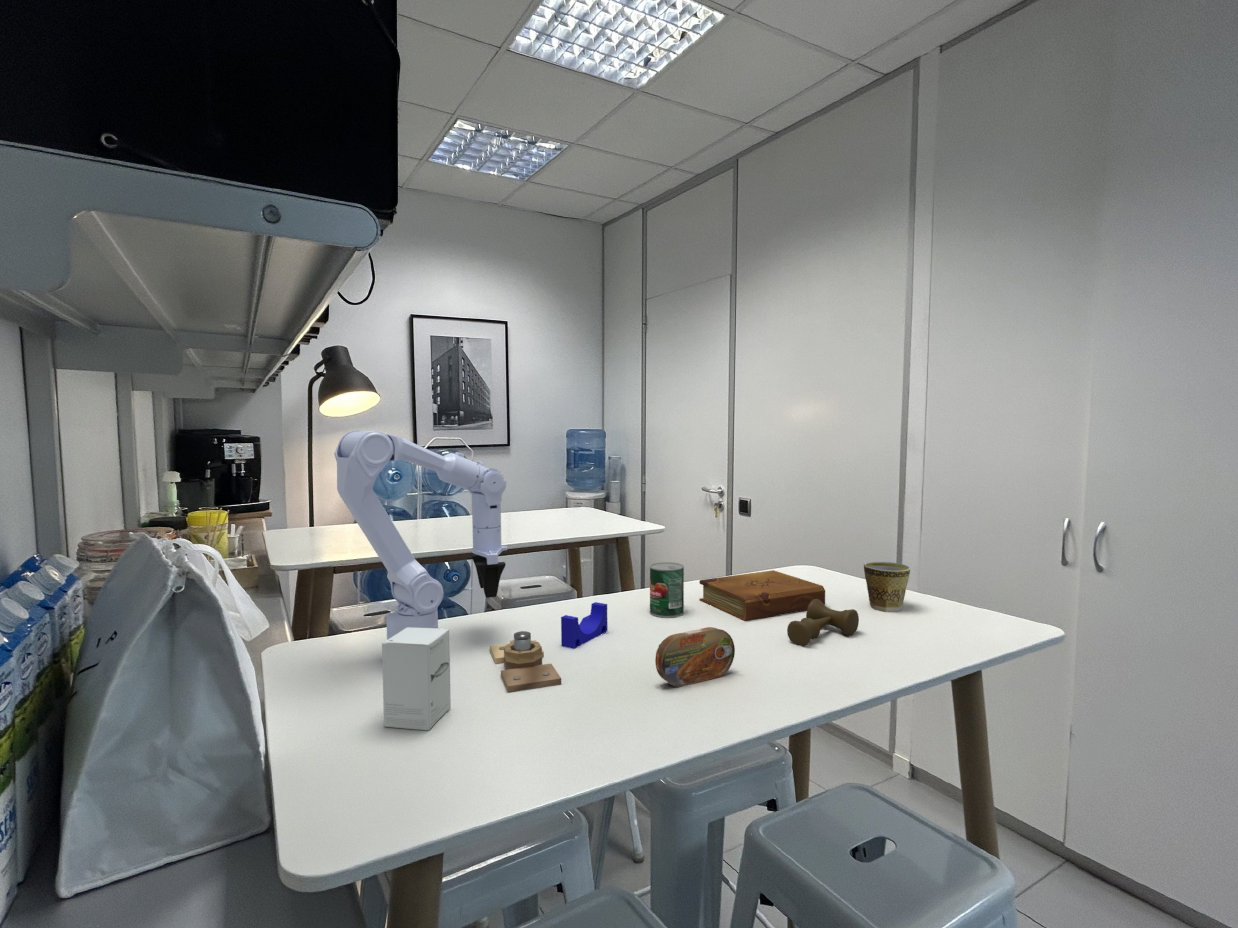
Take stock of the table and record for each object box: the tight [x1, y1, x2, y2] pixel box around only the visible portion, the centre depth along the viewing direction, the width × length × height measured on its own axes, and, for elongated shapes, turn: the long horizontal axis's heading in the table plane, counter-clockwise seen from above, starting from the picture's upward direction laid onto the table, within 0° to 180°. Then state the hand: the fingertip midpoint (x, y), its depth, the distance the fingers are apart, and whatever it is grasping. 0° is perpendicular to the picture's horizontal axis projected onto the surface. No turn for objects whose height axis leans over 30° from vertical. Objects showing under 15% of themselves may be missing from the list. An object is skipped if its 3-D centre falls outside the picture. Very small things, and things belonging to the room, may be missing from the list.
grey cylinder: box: [513, 630, 532, 652], centre depth 112 cm, size 3×3×6 cm
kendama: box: [786, 599, 860, 647], centre depth 128 cm, size 6×10×20 cm
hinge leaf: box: [489, 639, 545, 665], centre depth 115 cm, size 9×13×4 cm
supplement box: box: [381, 627, 452, 731], centre depth 92 cm, size 7×7×13 cm
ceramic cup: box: [863, 561, 911, 613], centre depth 147 cm, size 13×10×10 cm
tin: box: [654, 626, 736, 688], centre depth 106 cm, size 15×3×8 cm, turn 117°
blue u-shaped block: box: [560, 601, 608, 650], centre depth 127 cm, size 12×4×6 cm, turn 148°
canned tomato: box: [649, 561, 685, 619], centre depth 143 cm, size 8×8×11 cm
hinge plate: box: [500, 657, 562, 693], centre depth 109 cm, size 9×13×2 cm
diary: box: [699, 569, 826, 622], centre depth 150 cm, size 23×19×6 cm
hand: (488, 592), depth 127 cm, fingers open, 7 cm apart
